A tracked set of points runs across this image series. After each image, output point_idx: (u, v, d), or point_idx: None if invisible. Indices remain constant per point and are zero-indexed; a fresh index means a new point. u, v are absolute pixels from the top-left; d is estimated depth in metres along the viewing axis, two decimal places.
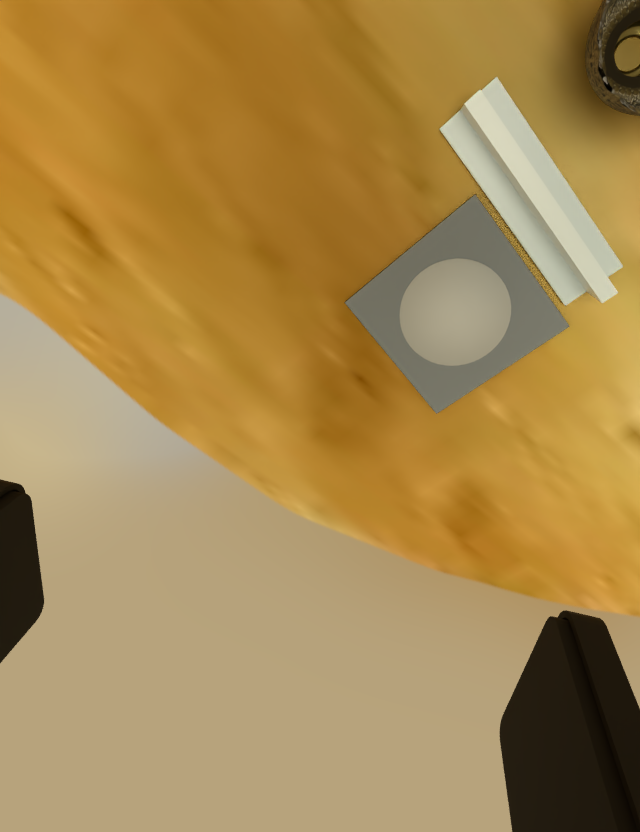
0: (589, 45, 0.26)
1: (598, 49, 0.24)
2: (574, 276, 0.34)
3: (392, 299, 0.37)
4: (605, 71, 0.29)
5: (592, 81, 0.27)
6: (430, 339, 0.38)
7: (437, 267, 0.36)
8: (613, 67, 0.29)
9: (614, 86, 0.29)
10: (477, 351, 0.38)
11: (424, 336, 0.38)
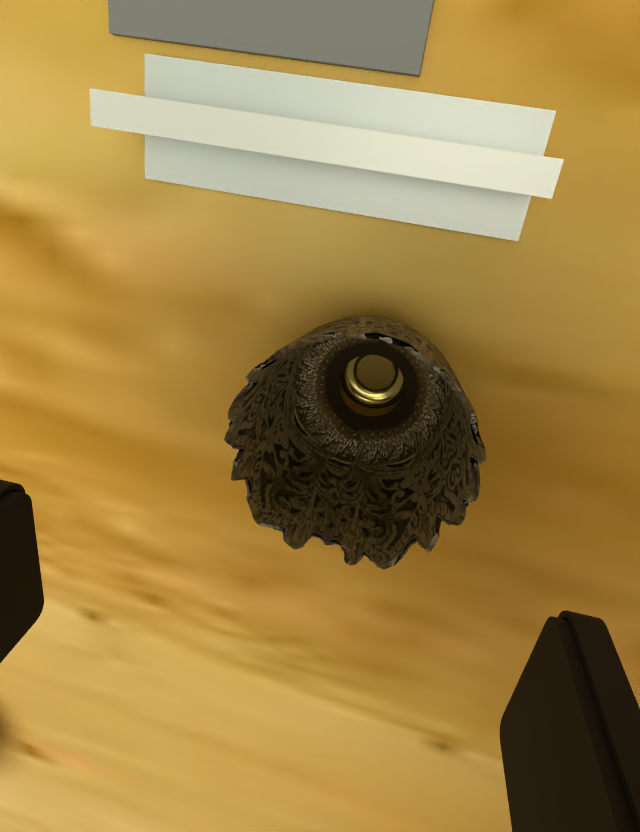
0: (439, 355, 0.16)
1: (433, 363, 0.13)
2: None
3: None
4: (387, 343, 0.19)
5: (396, 325, 0.16)
6: None
7: None
8: (382, 352, 0.20)
9: None
10: None
11: None
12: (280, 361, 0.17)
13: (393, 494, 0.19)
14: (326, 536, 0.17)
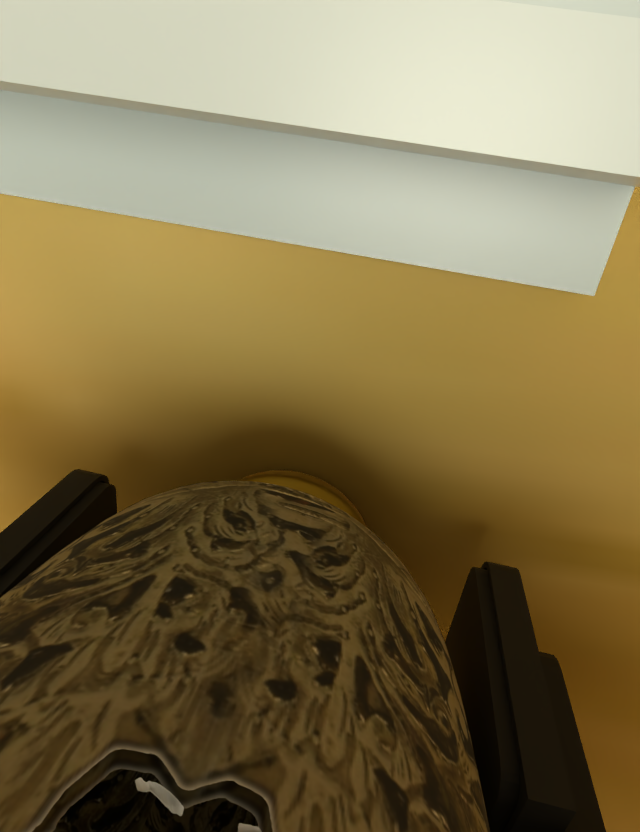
0: (401, 670, 0.05)
1: None
2: None
3: None
4: None
5: (276, 568, 0.06)
6: None
7: None
8: None
9: None
10: None
11: None
12: None
13: None
14: None
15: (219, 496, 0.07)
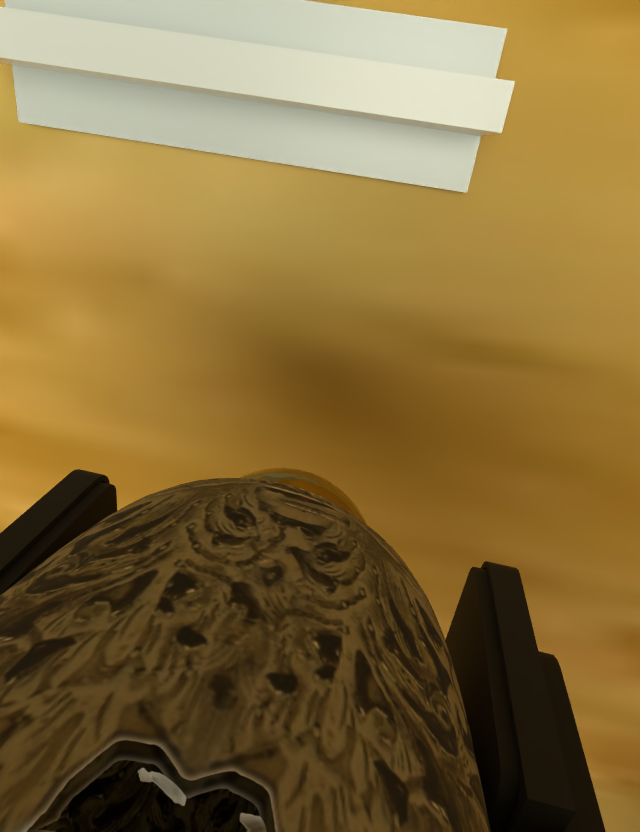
0: (401, 665, 0.05)
1: None
2: None
3: None
4: None
5: (277, 563, 0.06)
6: None
7: None
8: None
9: None
10: None
11: None
12: None
13: None
14: None
15: (220, 493, 0.07)
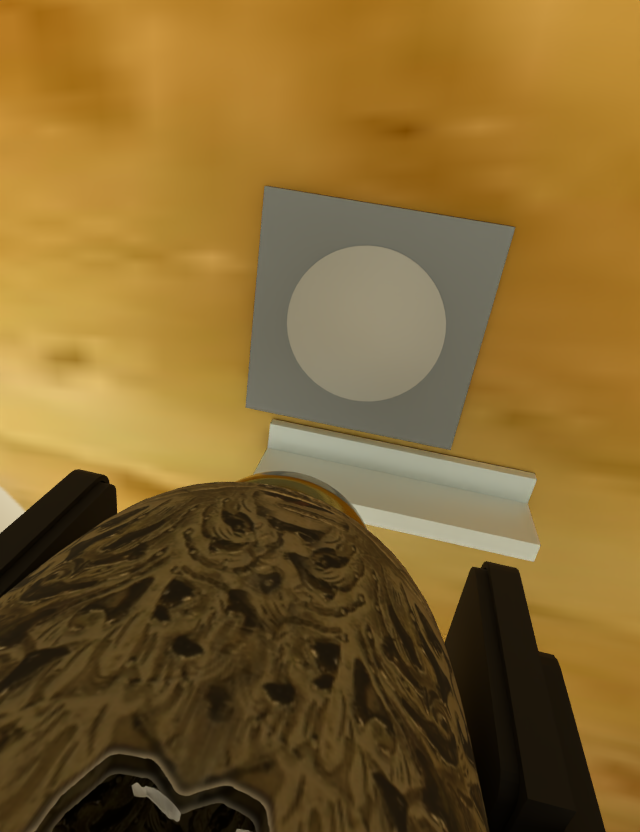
0: (400, 673, 0.05)
1: None
2: (291, 451, 0.29)
3: (452, 284, 0.24)
4: None
5: (275, 570, 0.06)
6: (363, 275, 0.24)
7: (428, 361, 0.25)
8: None
9: None
10: (299, 309, 0.25)
11: (373, 273, 0.24)
12: None
13: None
14: None
15: (218, 497, 0.07)
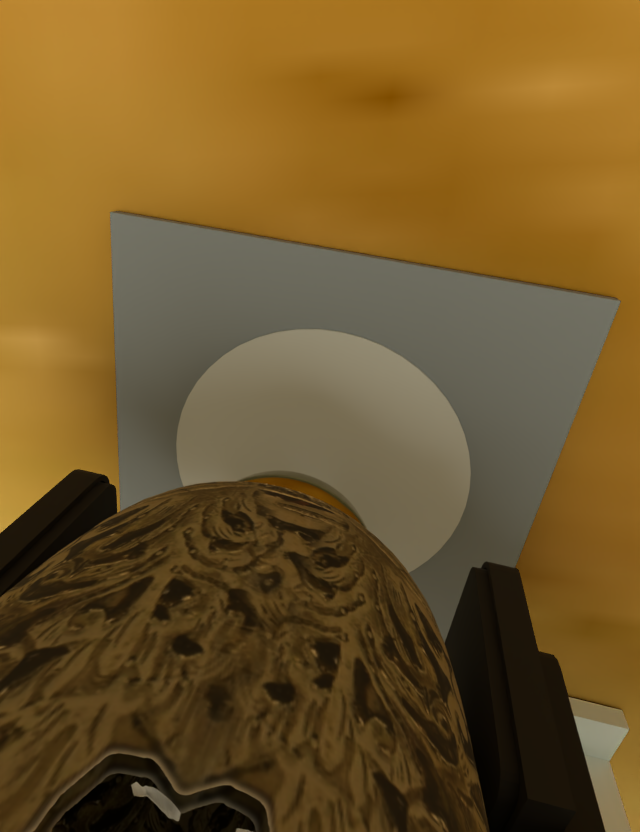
0: (400, 672, 0.05)
1: None
2: None
3: (483, 405, 0.12)
4: None
5: (275, 569, 0.06)
6: (312, 382, 0.13)
7: (436, 533, 0.14)
8: None
9: None
10: (197, 436, 0.14)
11: (331, 380, 0.12)
12: None
13: None
14: None
15: (218, 497, 0.07)
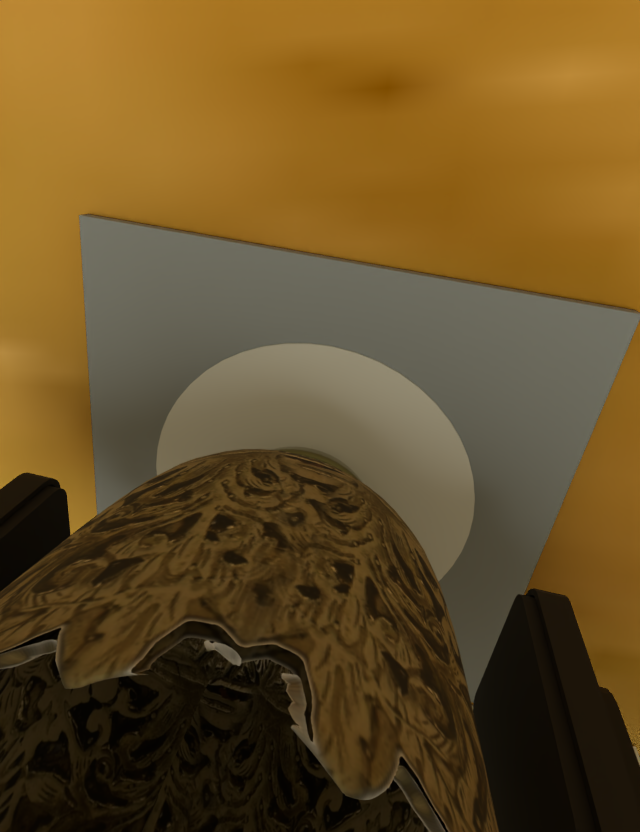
0: (402, 592, 0.06)
1: (362, 780, 0.04)
2: None
3: (489, 426, 0.11)
4: None
5: (299, 510, 0.07)
6: (301, 401, 0.12)
7: (437, 561, 0.13)
8: None
9: None
10: (179, 457, 0.13)
11: (322, 398, 0.11)
12: None
13: (321, 795, 0.09)
14: None
15: (246, 458, 0.08)
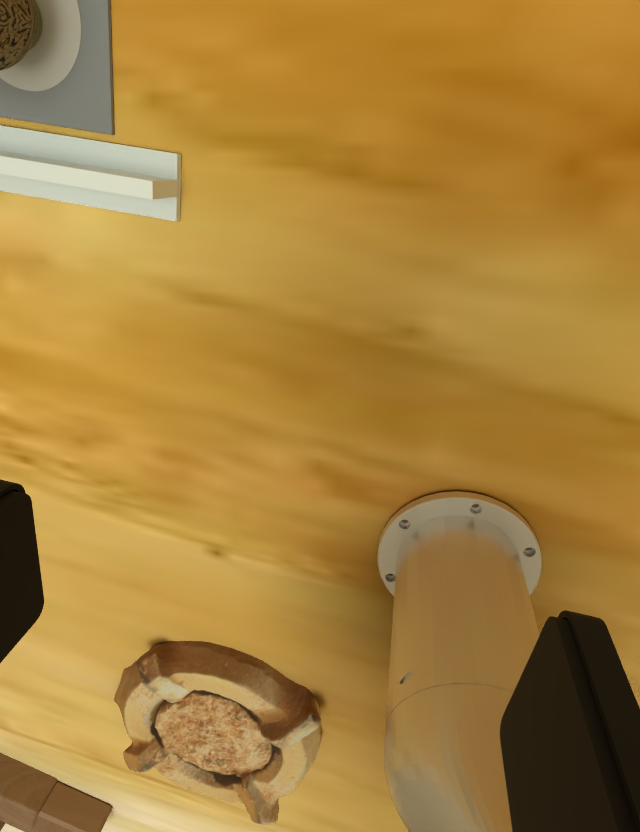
0: None
1: None
2: None
3: None
4: None
5: None
6: None
7: (75, 45, 0.32)
8: None
9: None
10: None
11: None
12: None
13: None
14: None
15: None
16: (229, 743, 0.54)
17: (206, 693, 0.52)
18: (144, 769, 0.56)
